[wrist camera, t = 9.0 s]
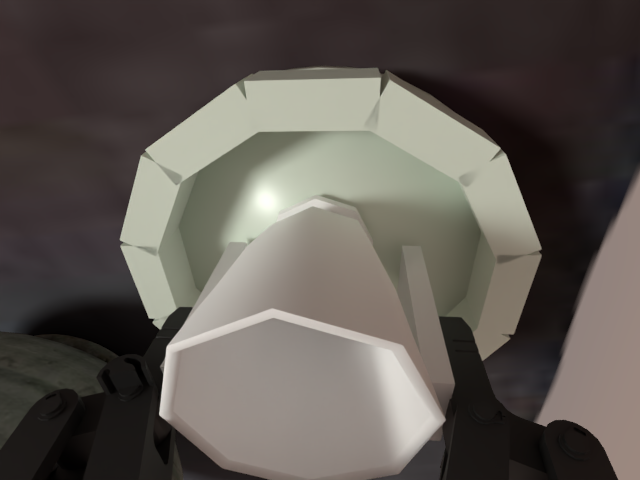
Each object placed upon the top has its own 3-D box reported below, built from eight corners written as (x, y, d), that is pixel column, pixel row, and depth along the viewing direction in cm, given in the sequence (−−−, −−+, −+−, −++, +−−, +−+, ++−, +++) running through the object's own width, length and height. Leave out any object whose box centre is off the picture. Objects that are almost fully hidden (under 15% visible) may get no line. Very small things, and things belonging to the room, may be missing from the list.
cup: (407, 156, 13) (464, 307, 6) (401, 346, 19) (429, 541, 12) (222, 168, 14) (100, 314, 7) (266, 347, 19) (219, 529, 12)
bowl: (219, 477, 31) (167, 650, 23) (-28, 422, 30) (-179, 583, 22) (254, 306, 20) (176, 524, 12) (-141, 208, 19) (-545, 371, 10)
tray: (111, 71, 14) (56, 85, 11) (556, 58, 12) (606, 72, 10) (200, 354, 22) (180, 397, 20) (469, 368, 21) (484, 418, 18)
